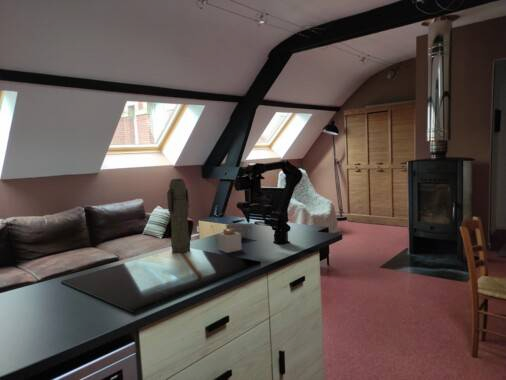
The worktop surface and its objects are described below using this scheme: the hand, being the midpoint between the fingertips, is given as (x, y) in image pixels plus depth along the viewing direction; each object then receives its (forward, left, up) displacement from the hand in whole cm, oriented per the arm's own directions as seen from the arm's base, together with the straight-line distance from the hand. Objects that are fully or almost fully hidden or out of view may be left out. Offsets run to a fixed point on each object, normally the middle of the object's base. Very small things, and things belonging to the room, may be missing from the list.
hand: (256, 221), depth 187 cm
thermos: (+31, -20, -13) cm, 39 cm away
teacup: (-5, -24, -13) cm, 28 cm away
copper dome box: (+12, -6, -13) cm, 19 cm away
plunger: (+12, -6, -10) cm, 17 cm away
